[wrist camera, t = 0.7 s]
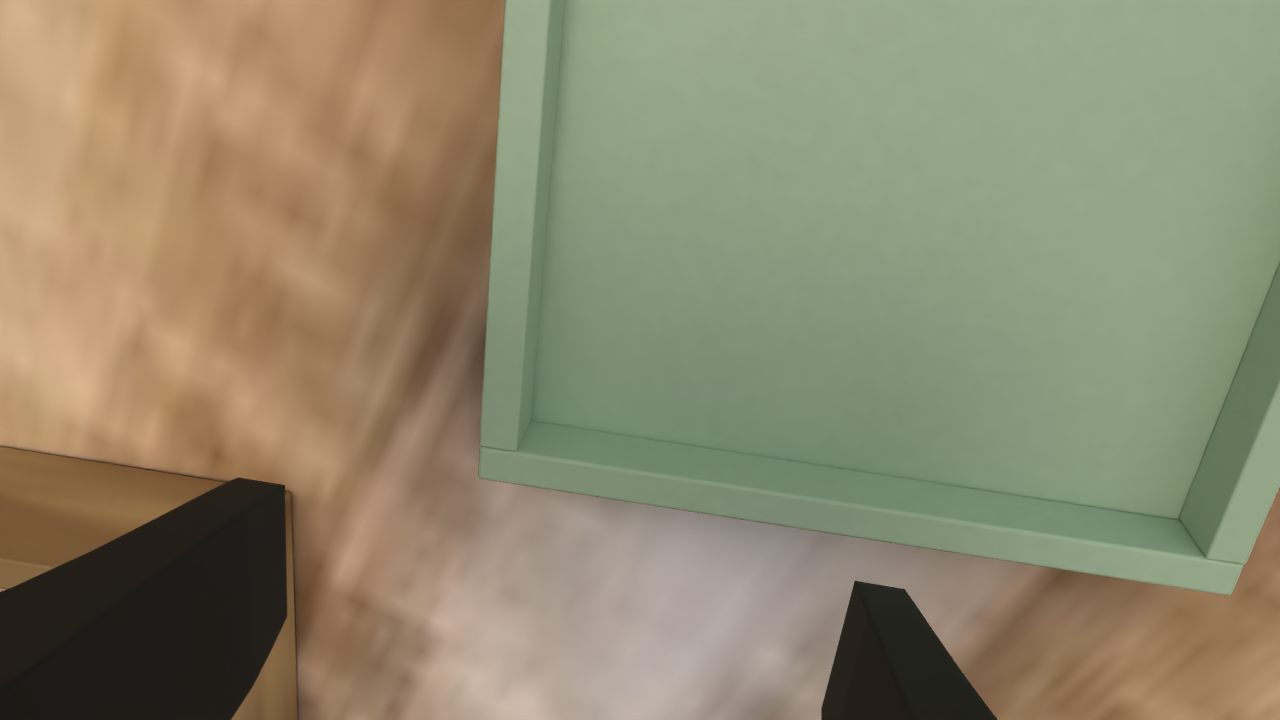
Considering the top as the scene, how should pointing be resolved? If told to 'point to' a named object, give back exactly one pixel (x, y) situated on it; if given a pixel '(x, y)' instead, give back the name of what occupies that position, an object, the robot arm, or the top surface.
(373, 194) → the top surface
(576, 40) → the tray
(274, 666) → the open wooden box
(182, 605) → the robot arm
